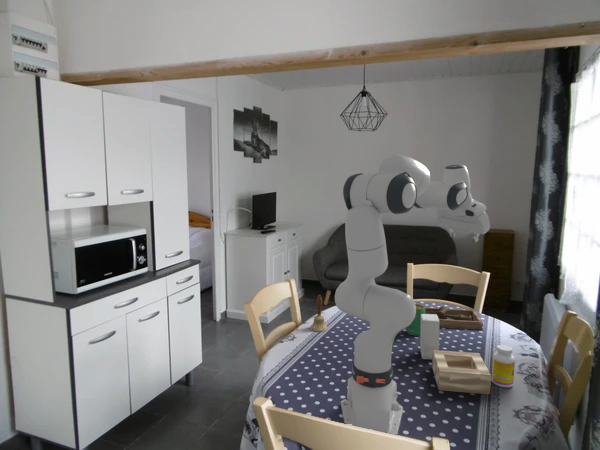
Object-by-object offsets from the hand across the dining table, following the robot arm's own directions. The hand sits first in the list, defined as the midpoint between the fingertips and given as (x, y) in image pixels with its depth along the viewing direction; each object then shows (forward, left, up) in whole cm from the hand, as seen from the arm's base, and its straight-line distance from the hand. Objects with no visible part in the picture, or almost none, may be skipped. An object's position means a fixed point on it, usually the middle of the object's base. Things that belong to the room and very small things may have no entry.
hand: (464, 238), depth 159 cm
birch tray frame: (-22, +4, -46) cm, 52 cm away
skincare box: (-4, +12, -46) cm, 48 cm away
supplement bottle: (-22, -10, -46) cm, 52 cm away
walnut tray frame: (+34, -2, -46) cm, 57 cm away
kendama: (+34, -2, -46) cm, 57 cm away
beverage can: (+18, +15, -46) cm, 52 cm away
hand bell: (+16, +58, -46) cm, 76 cm away
